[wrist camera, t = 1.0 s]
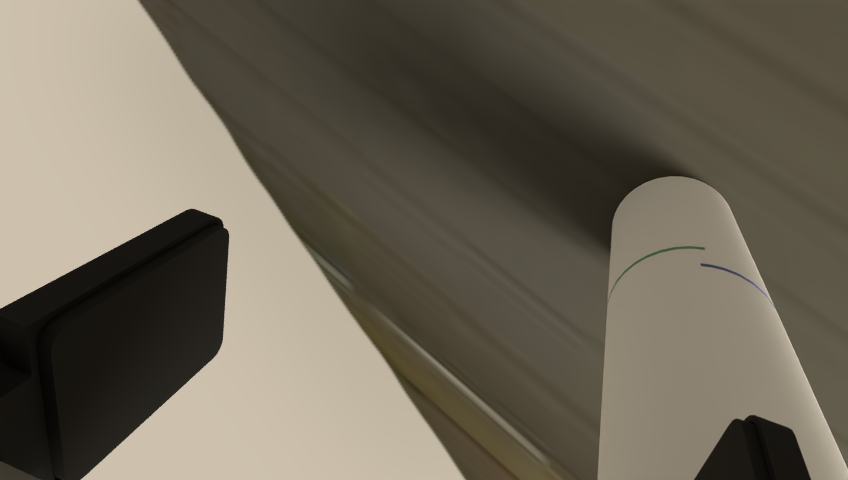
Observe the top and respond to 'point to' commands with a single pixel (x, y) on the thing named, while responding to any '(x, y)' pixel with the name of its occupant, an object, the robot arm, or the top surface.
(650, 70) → the top surface
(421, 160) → the top surface
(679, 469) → the cylindrical container
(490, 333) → the top surface
